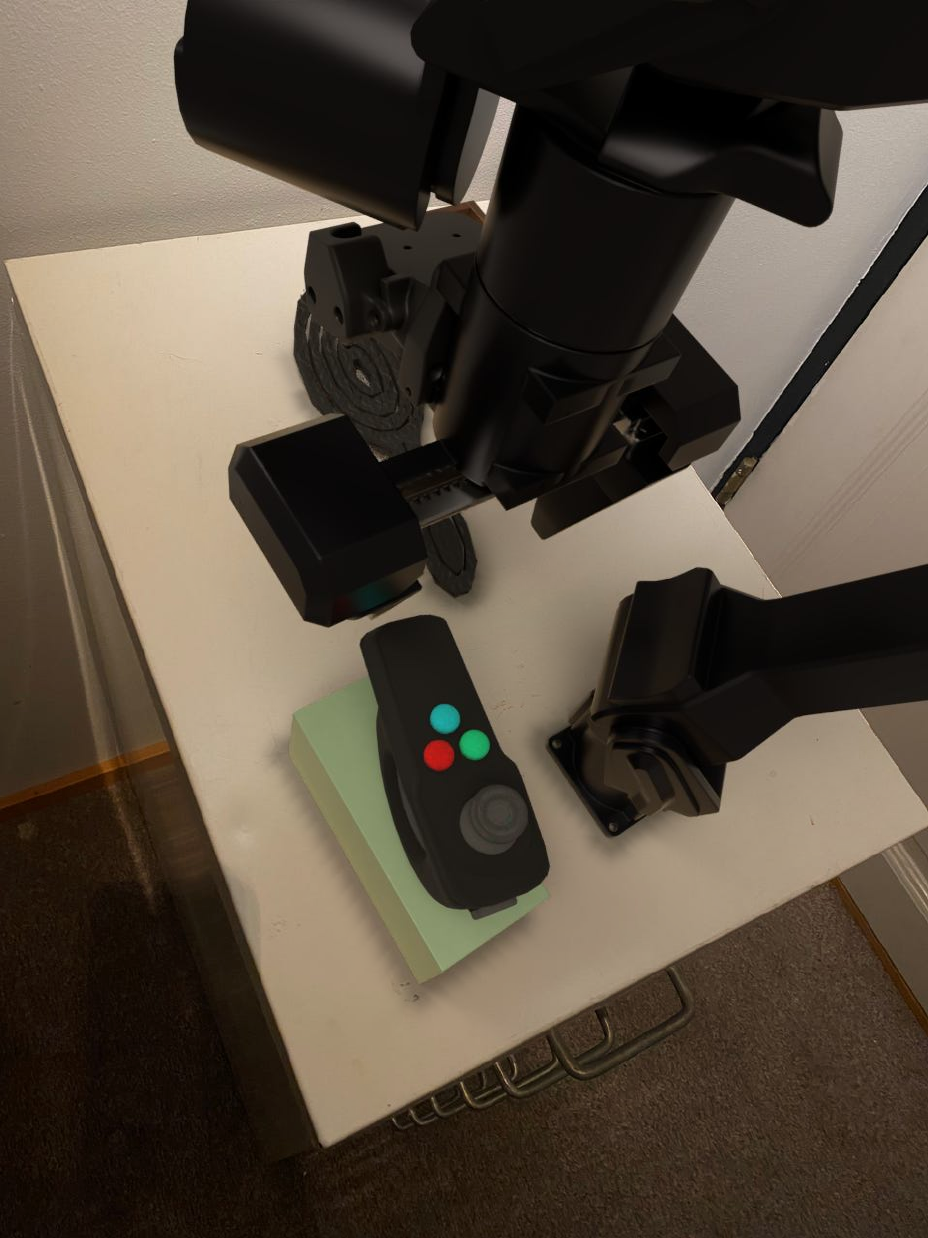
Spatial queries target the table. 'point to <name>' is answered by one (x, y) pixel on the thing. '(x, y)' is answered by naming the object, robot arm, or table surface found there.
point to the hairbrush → (379, 426)
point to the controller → (449, 772)
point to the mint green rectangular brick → (383, 833)
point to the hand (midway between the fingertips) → (457, 568)
